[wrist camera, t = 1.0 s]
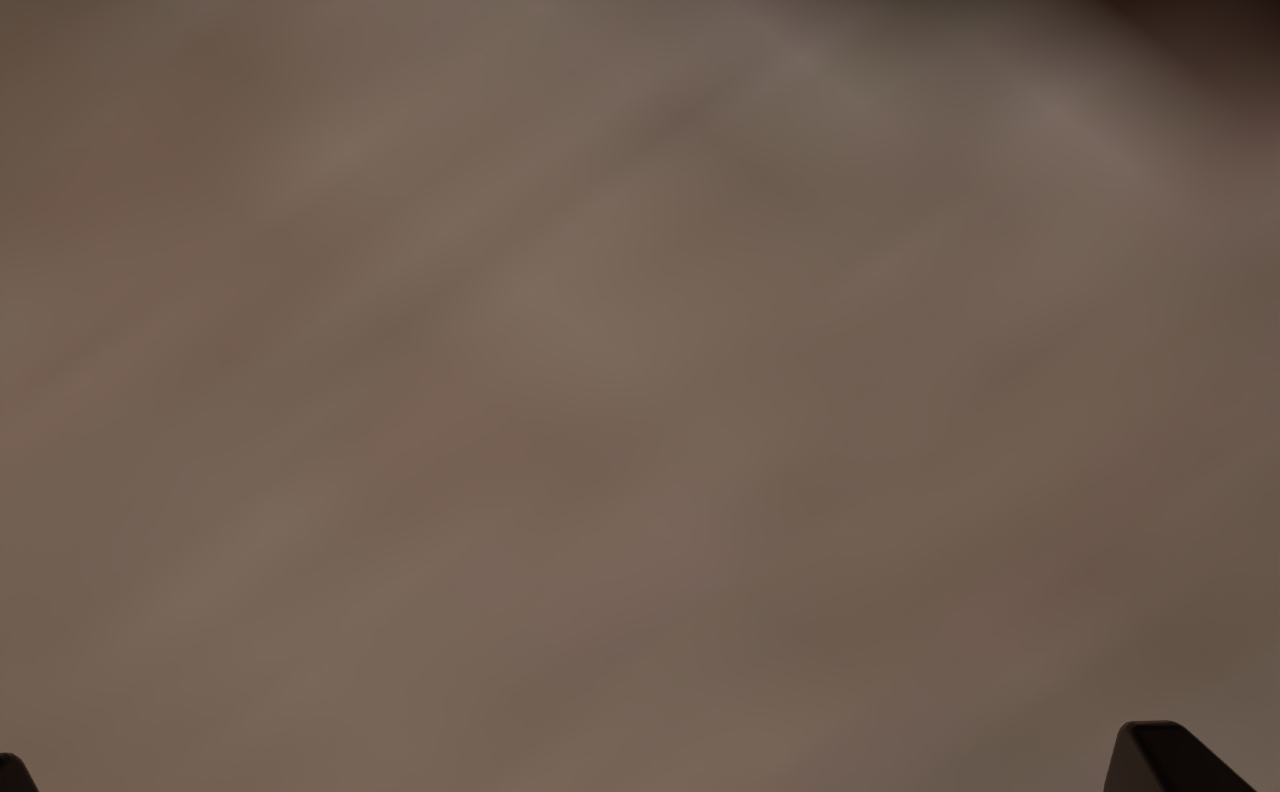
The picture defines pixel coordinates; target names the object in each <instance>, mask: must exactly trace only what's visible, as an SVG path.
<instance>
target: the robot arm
mask: <svg viewBox="0 0 1280 792" xmlns="http://www.w3.org/2000/svg"><path fill="white" fill-rule="evenodd" d="M0 792H39V790H38V788H37V787H36V785H35V783H34V781H33V779H32V777H31V775H30V774H29V772H28V770H27V768H26V766H25V764H24V763H23V761H22V760H21V759H20V758H19V757H18V756H16V755H14V754H13V753H0ZM1103 792H1257V791H1256V790H1255V789H1253V788H1252V787H1251V786H1250V785H1249V784H1248V783H1247V782H1246V781H1245V780H1243V779H1242V778H1241V777H1240V776H1239V775H1238V774H1237V773H1236V772H1234V771H1233V770H1232V769H1231V768H1230V767H1229V766H1228V765H1227V764H1225V763H1224V762H1223V761H1222V760H1221V759H1220V758H1219V757H1218V756H1217V755H1215V754H1214V753H1213V752H1212V751H1211V750H1210V749H1209V748H1208V747H1206V746H1205V745H1204V744H1203V743H1202V742H1201V741H1200V740H1199V739H1198V738H1196V737H1195V736H1194V735H1193V734H1192V733H1191V732H1190V731H1189V730H1187V729H1186V728H1185V727H1184V726H1182V725H1180V724H1178V723H1176V722H1173V721H1167V720H1161V721H1131V722H1127V723H1125V724H1124V725H1123V726H1122V727H1121V728H1120V730H1119V732H1118V735H1117V738H1116V742H1115V746H1114V750H1113V754H1112V757H1111V761H1110V765H1109V769H1108V773H1107V776H1106V780H1105V784H1104V791H1103Z"/></svg>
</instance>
